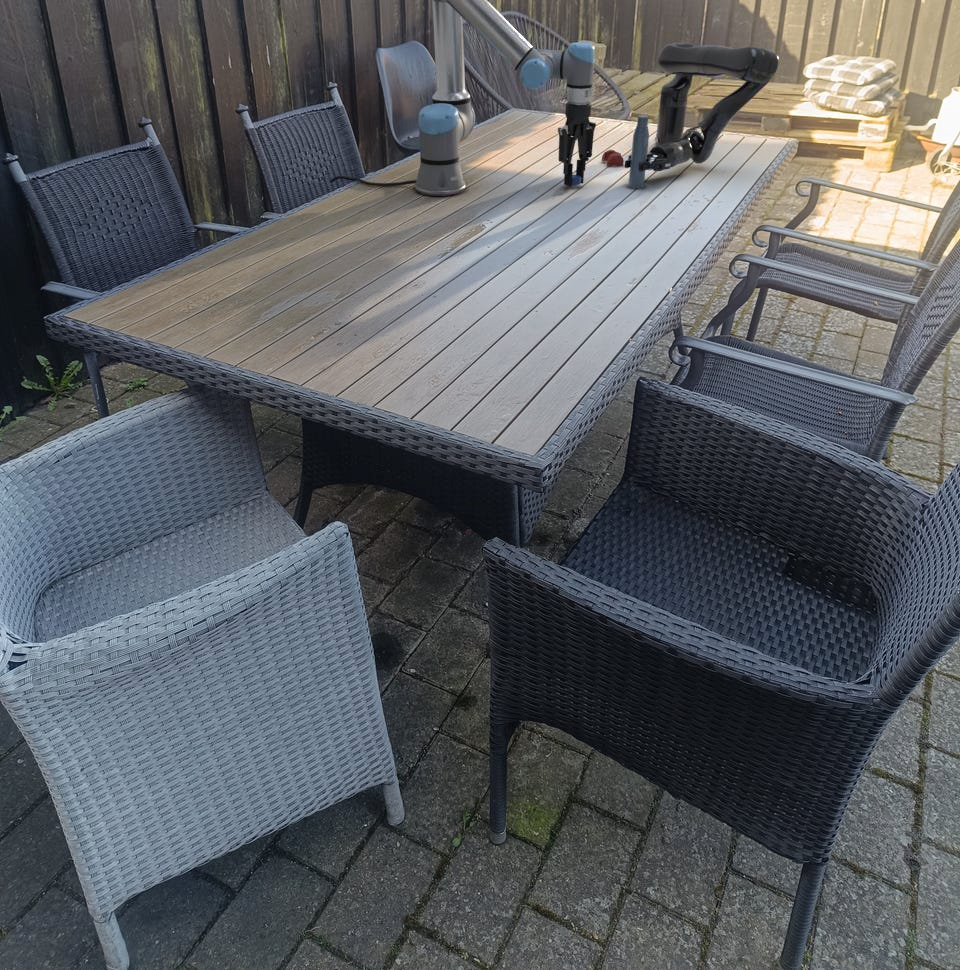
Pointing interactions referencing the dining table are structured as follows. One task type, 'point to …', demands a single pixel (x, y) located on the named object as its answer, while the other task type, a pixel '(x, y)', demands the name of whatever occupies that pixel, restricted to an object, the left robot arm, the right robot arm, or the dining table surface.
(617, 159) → the dental model
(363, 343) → the dining table surface
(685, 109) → the right robot arm
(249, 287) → the dining table surface
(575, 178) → the cap
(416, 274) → the dining table surface
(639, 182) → the bottle
